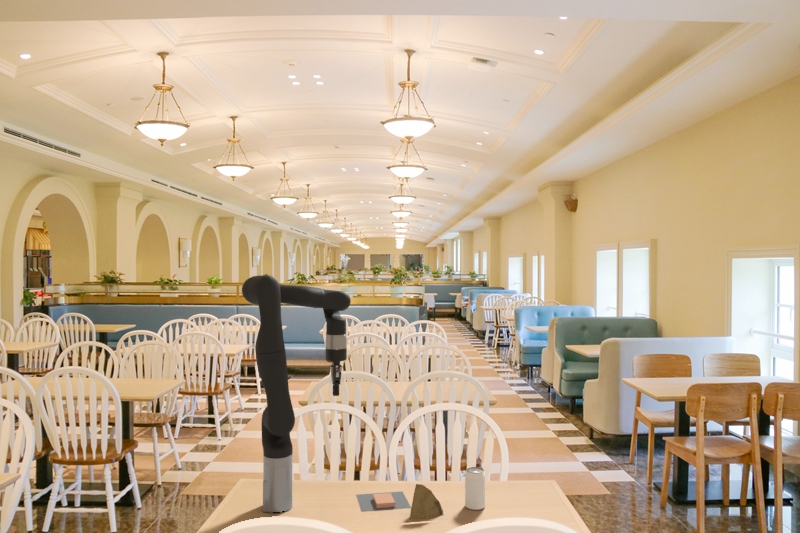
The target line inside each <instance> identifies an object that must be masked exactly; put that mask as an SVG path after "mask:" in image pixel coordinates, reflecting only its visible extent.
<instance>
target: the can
mask: <svg viewBox="0 0 800 533" xmlns="http://www.w3.org/2000/svg"><path fill="white" fill-rule="evenodd" d="M464 474H465V476H464V477H465V478H464V479H465V480H464V483H465V484H464V506H465V507H466V508H467V509H468V510H472V511H481V510H483V509H485V507H486V474H485V470H484V468H483V467H478V466H470V467H469V466H468V467H466V472H465V473H464Z"/></svg>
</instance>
